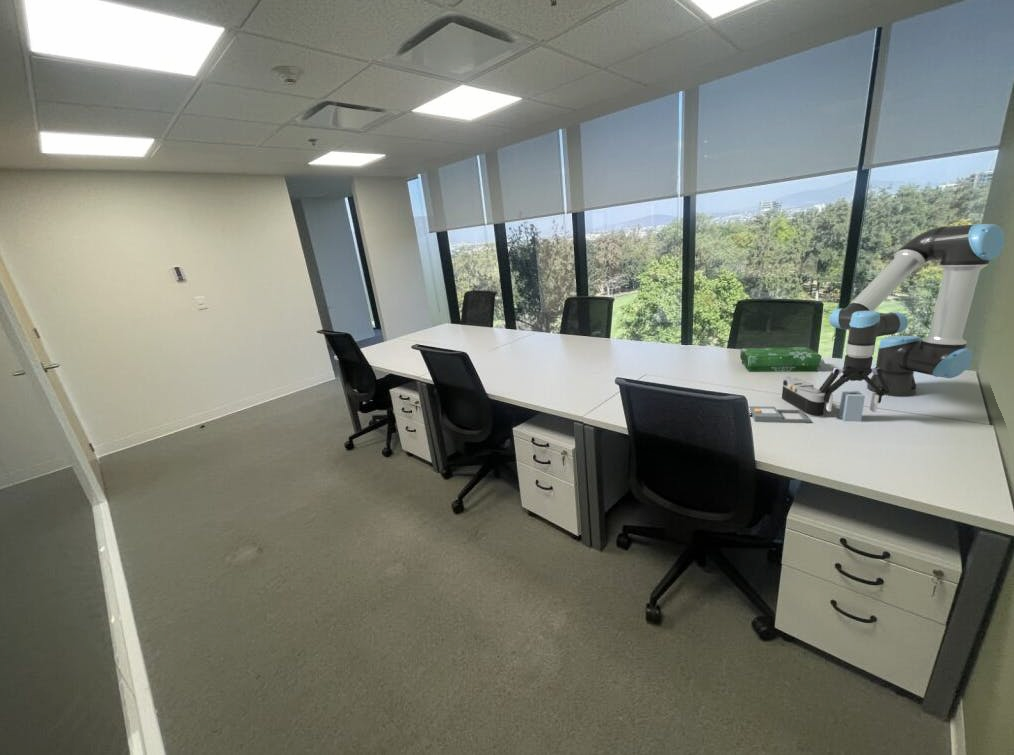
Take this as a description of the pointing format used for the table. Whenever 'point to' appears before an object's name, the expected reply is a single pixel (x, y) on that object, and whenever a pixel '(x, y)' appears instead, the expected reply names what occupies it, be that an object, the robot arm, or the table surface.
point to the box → (780, 359)
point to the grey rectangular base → (775, 415)
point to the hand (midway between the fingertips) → (850, 410)
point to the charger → (851, 406)
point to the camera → (803, 396)
